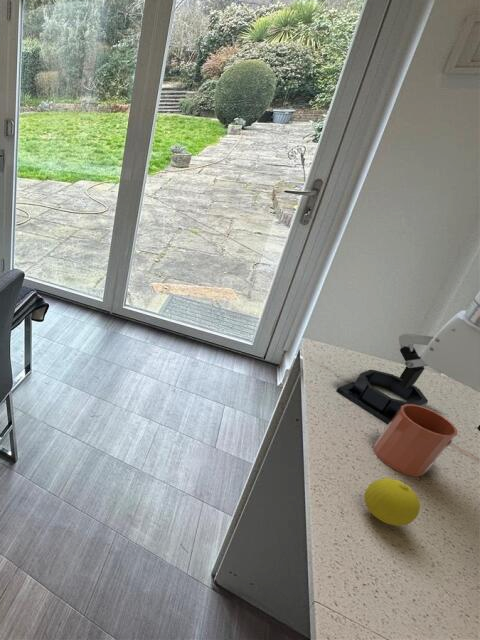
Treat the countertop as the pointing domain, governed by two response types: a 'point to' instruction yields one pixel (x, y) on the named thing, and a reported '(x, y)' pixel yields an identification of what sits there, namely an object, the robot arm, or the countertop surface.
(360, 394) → the cup holder
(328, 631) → the countertop surface
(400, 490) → the lemon
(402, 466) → the cup
